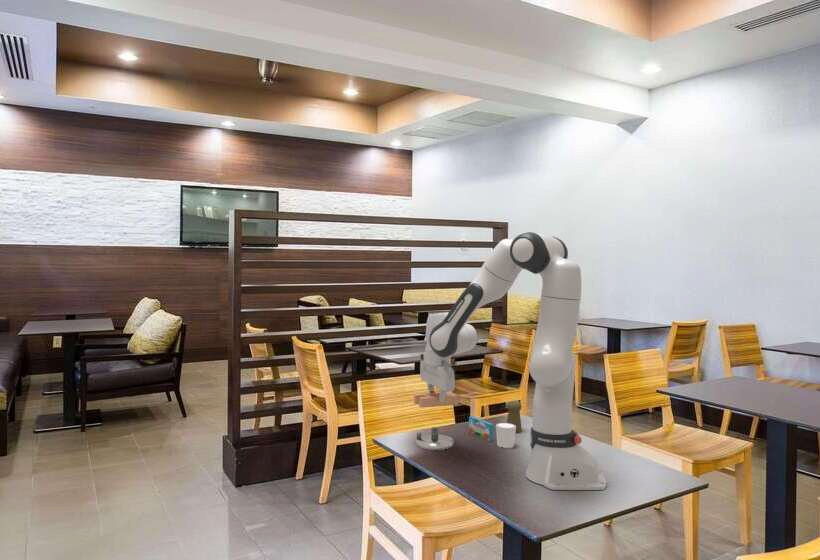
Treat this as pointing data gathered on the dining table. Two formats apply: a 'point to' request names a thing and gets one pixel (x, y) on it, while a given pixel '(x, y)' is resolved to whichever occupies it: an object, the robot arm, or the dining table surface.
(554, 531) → the dining table surface
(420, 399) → the orange letter a block
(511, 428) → the white cylindrical downlight
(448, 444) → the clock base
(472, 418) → the blue printed cardboard box
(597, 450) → the dining table surface
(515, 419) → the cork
